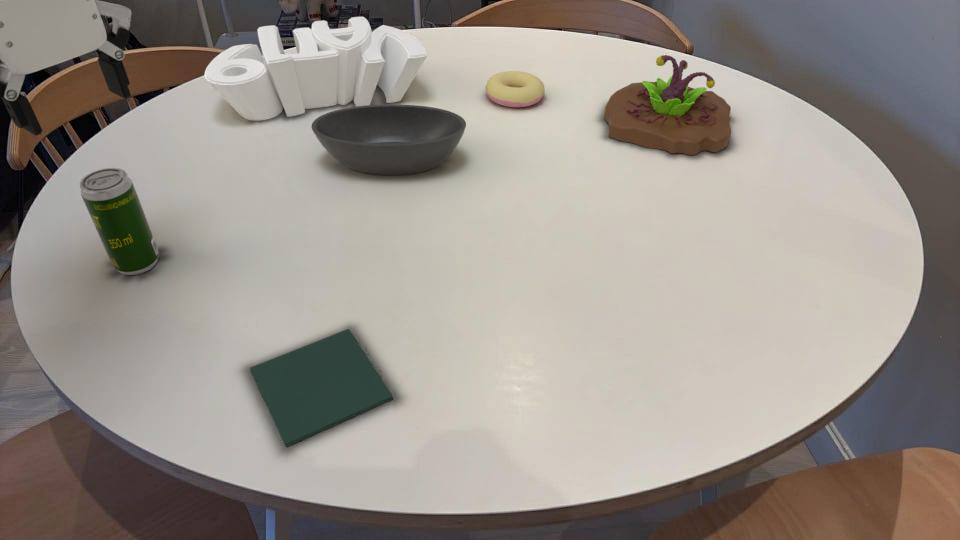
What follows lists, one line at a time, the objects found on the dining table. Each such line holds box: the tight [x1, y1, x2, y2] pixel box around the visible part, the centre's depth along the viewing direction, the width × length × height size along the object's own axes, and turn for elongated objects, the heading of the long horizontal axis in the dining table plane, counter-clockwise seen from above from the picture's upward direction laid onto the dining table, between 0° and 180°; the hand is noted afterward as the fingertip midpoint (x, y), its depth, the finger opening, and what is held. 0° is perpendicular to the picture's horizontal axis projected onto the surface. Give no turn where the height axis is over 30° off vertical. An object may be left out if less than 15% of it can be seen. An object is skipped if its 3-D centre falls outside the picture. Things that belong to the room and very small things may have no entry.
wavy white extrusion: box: [203, 16, 428, 122], centre depth 116 cm, size 35×16×11 cm, turn 104°
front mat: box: [249, 328, 394, 448], centre depth 71 cm, size 11×11×1 cm
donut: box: [485, 70, 546, 108], centre depth 118 cm, size 10×5×9 cm
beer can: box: [79, 167, 160, 276], centre depth 82 cm, size 5×5×12 cm
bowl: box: [311, 103, 467, 176], centre depth 102 cm, size 12×22×6 cm, turn 89°
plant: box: [603, 54, 732, 156], centre depth 109 cm, size 20×20×11 cm
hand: (78, 111), depth 73 cm, fingers open, 9 cm apart
